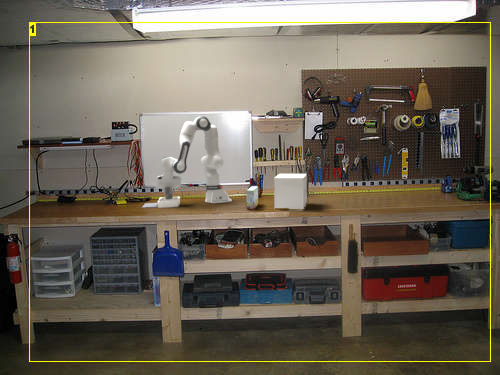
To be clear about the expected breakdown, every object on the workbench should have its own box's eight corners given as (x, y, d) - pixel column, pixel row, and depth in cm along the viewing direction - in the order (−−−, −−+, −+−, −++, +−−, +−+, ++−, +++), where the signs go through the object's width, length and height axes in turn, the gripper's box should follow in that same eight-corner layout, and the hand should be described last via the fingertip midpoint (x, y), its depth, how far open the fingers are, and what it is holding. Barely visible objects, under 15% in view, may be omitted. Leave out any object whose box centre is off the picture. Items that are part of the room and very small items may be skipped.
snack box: (253, 210, 278) (253, 190, 276) (246, 209, 280) (245, 190, 277) (258, 204, 299) (258, 185, 297) (251, 204, 300) (251, 185, 298)
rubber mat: (158, 203, 311) (158, 202, 311) (156, 207, 295) (156, 206, 295) (145, 204, 310) (145, 203, 310) (141, 208, 294) (141, 207, 294)
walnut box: (173, 196, 309) (172, 185, 308) (171, 199, 298) (171, 188, 296) (167, 196, 309) (166, 185, 307) (165, 199, 297) (164, 188, 296)
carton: (180, 202, 314) (179, 196, 313) (178, 206, 296) (178, 200, 295) (160, 203, 312) (160, 197, 311) (157, 207, 294) (157, 201, 294)
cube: (303, 211, 273) (303, 178, 269) (274, 210, 278) (274, 177, 274) (306, 204, 297) (306, 173, 293) (280, 203, 302) (279, 173, 298)
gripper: (181, 175, 305) (182, 192, 307) (155, 176, 303) (157, 193, 305) (180, 176, 298) (181, 193, 301) (154, 177, 296) (155, 194, 299)
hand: (169, 193), depth 303 cm, fingers closed on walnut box, 5 cm apart
